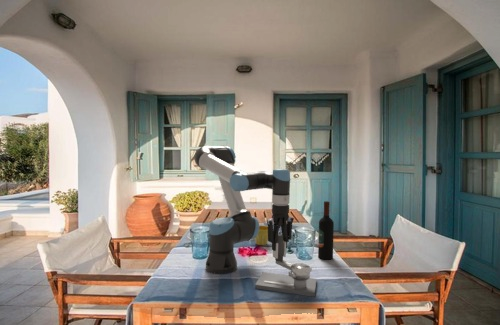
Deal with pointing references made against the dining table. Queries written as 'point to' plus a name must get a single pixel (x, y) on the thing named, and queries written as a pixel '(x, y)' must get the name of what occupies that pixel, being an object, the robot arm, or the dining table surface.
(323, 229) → the wine bottle
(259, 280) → the base plate
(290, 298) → the dining table surface
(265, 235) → the plant pot
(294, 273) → the grey lever handle
